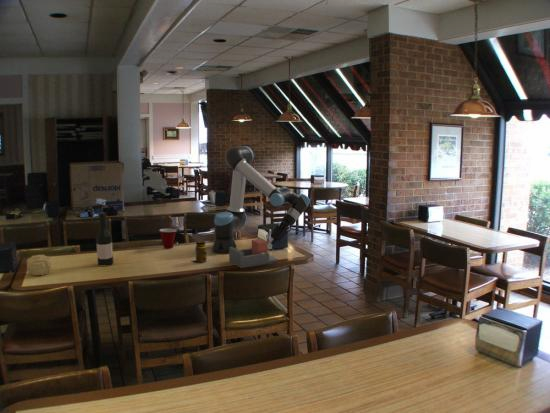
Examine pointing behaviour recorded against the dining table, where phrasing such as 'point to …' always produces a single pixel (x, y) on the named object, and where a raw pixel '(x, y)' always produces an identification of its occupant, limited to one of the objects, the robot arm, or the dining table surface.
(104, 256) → the wine bottle
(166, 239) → the plastic cup
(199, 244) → the condiment
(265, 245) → the red block
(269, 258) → the grey open bin
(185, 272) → the dining table surface
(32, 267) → the sculpture
